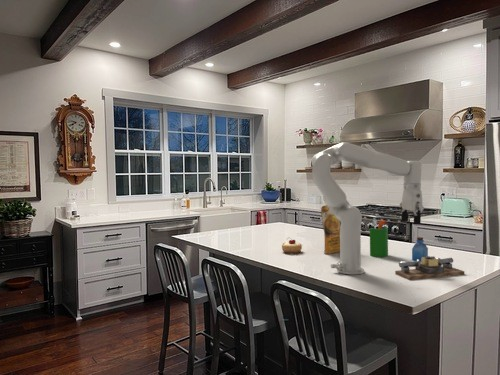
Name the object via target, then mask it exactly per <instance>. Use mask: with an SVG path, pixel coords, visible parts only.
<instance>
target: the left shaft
mask: <svg viewBox="0 0 500 375" xmlns="http://www.w3.org/2000/svg"><path fill="white" fill-rule="evenodd" d="M398 267H399V268H400V270H401V271H402V272H404V273H410V269H411V268H412V267H414V268H415V267H416V268H421V261H420V260H416V261H413V260H411V261H399V262H398Z"/></svg>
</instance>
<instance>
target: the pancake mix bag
mask: <svg viewBox="0 0 500 375" xmlns="http://www.w3.org/2000/svg"><path fill="white" fill-rule="evenodd" d="M320 214H321V220H322V222H321V223H322V229H323V235H324V236H323V237H324V252H323V254H325V255H331V253H332V254H336V253H338V252H339V253H340V227H341V222H340V221H339V220H338V219H337V218H336V216H335V215H334V214H333V213H332V211H331V210H330V209H329V207H328V206H327V205H326V204H325V205H322V206H321V207H320ZM335 252H336V253H335Z"/></svg>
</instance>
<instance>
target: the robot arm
mask: <svg viewBox="0 0 500 375" xmlns="http://www.w3.org/2000/svg"><path fill="white" fill-rule="evenodd" d="M342 161H345V162H347V163H351V164H354V165H357V166H361V167H363V168H367V169H374V170H379V171H380V170H381V171H384V172H387V174H388V175H390V176H394V177H403V189H402V190H403V191H402V198H401V202H400V203H399V209H400V213H401V222H409V213H408V212H409V211H410V212H413V213H414V215H413V225H421V221H422V220H421V219H422V218H421V217H422V215H423V211H424V209H425V206H424V205H423V193H422V190H421V189H422V188H421V185H422V168H423V167H422V166H423V165H422V162H421V161H420V160H405V159H404V158H403V159H402V158H400V157H398V156H393V155H390V154H387V153H383V152H380V151H376V150H372V149H369V148H366V147H363V146H359V145H358V144H353V143H350V142H346V141H344V142H340V143H337V144H335V145H333V146H331V147H329V148H327V149H324V150H322V151H320V152H317V153H315V154H314V155H313V157H311V165H312V168H311V169H312V170H311V176H312V179H313V182H314V184H315V186H316V187H317V189H318V190H319V192H320V193H321V195H322V199H323V201H324V203H325V205H327V206H328V207H329V209H330V210H331V211H332V213H333V214H334V215H335V216H336V218H337V219H338V220H339V221H340V226H341V227H340V252H339V253H340V254H339V256H340V257H339V259H340V260H339V261H337V263H336V264H335V263H331V264H330V268H331V269H336V272H338V273H340V274H342V275H343V274H345V275H348V276H349V275H356V276H357V275H361V274H364V273H365V269H364V268H363V267H362V264H361V260H362V258H361V256H362V253H361V252H362V247H361V246H362V245H361V243H362V239H361V236H362V235H361V234H362V221H363V215H362V212H361V211H360V209H359V208H358V207H356V206H354V205H352V204H350V202H349V201H348V199H347V195H346V192H345V191H344V190H343V189H342V188H341V186H340V185H339V184H338V183H337V182H336V180H335V179H334V177H333V176H332V173H331V168H332V166H334V165H336V164H338V163H339V162H342Z"/></svg>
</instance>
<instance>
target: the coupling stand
mask: <svg viewBox="0 0 500 375" xmlns="http://www.w3.org/2000/svg"><path fill="white" fill-rule="evenodd" d="M394 272H395V275H396V276H399V277H401V278H404V279H406V280H407V281H410V280H411V281H412V280H423V279H431V278H432V279H433V278H442V277H453V276H462V275H463V276H464V275H465V270H462V269H458V268H455V267H453V266H452V269H446V268H444V267H443V265H442V266H439V265H438V267H436V268H426V267H424V266H421V268H416V267H414V269H413V268H412V269H411V268H410V273H404V272H402V271H401V269H400V270H395V271H394Z"/></svg>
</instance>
